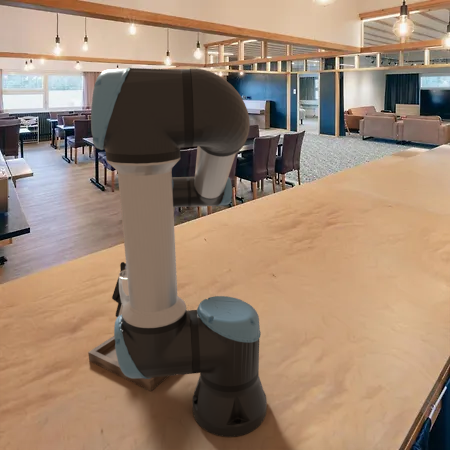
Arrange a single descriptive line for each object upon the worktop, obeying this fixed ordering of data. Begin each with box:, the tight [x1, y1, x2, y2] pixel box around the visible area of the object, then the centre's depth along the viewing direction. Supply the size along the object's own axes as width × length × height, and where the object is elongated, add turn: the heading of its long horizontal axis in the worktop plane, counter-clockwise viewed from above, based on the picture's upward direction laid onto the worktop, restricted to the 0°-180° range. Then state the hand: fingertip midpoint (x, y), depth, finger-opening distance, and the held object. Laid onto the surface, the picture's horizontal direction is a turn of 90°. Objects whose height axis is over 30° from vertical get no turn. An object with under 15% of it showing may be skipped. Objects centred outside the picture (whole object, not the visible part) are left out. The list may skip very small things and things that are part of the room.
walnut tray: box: [87, 335, 169, 392], centre depth 98 cm, size 20×20×2 cm
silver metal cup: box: [118, 269, 129, 307], centre depth 94 cm, size 7×7×15 cm
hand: (131, 332), depth 92 cm, fingers closed on silver metal cup, 6 cm apart
